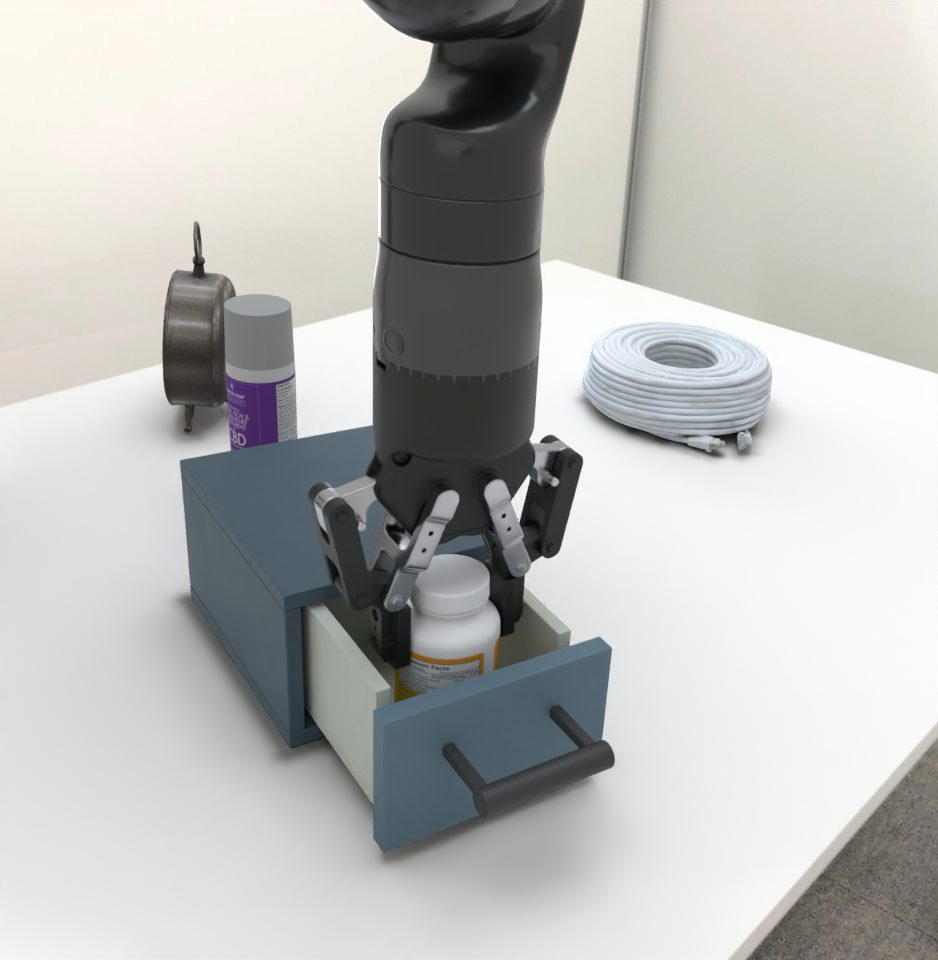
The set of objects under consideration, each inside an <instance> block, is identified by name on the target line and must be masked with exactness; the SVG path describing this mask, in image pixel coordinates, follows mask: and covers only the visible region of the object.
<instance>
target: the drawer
mask: <svg viewBox="0 0 938 960" xmlns="http://www.w3.org/2000/svg"><path fill="white" fill-rule="evenodd" d="M491 559H492V557H488V558H484V559H480V560H478V561H479V562H481V563H482V564H484V565H485V561H487V560H491ZM409 598H410V596H409ZM369 625H370V624H369V606H368V607H367V608H366V609H363V610H360V611H357V610H354V609H352V608H351V607H350V605H349V604H348V603H347V601H346V599H345V598H344V597H343V596H340V597H336V598H332V599H328V600H324V601H321V602H317V603H313V604H309V605H305V606H302V607H301V628H302V657H303V687H304V706H305V708H306V709H307V711H308V712H309V714H310V715H311V716H312V718H313V719H314V721H315V722H316V724H317V725H318V727H319V728H320V729H321V731H322V732H323V734H324V735H325V738H326V739H327V742H329V744H330V745H331V746H332V749H334V751H335V752H336V754H337V755H338V757H339V758H340V760H341V761H342V762H343V764H344V766H345V767H346V769H347V770H348V772H350V774H351V775H352V777H353V779H354V780H355V782H357V785H359V787H360V788H361V790H362V791H363V792H364V794H365V796H366V797H367V798H368V800H369V801H370V802H371V804H372V806H373V807H372V812H373V813H372V814H373V815H372V817H373V819H372V821H373V822H372V825H373V827H372V828H373V829H372V832H373V833H372V838H373V840H374V841H375V843H376V844H377V846H378V847H379V849H380V850H381V852H382V854H386V853H388V852H391V851H394V850H396V849H399V848H401V847H403V846H406V845H409V844H411V843H414V842H415V841H419V840H421V839H423V838H426V837H429V836H431V835H433V834H436V833H438V832H441V831H444V830H446V829H449V828H451V827H453V826H456V825H458V824H461V823H464V822H466V821H468V820H471V819H473V818H476V817H478V816H479V817H480V818H482V819H488V818H490V817H494V816H495V815H498V814H500V813H502V812H506V811H508V810H510V809H513V808H516V807H517V806H520V805H523V804H526V803H528V802H530V801H532V800H535V799H538V798H540V797H542V796H545V795H548V794H550V793H552V792H555V791H558V790H559V789H562V788H565V787H567V786H570V785H573V784H575V783H577V782H580V781H582V780H585V779H588V778H590V777H593V776H595V775H597V774H600V773H602V772H604V771H607V770H610V769H612V768H613V767H614V766H615V763H616V757H615V753H614V752H615V751H614V749H613V747H612V745H610V743H609V742H608V741H607V740H605V739H603V736H604V728H605V717H606V709H607V699H608V690H609V681H610V671H611V663H612V662H611V661H612V653H613V647H612V646H611V645H609V643H607V642H606V641H605V640H604V639H603V638H602V637H601V636H596V637H593V638H591V639H587V640H584V641H581V642H577V643H574V644H572V645H571V635H572V631H571V629H570V628H569V627H568V626H567V625H566V624H565V623H564V622H563V621H562V620H561V619H560V618H559V617H558V616H557V615H555V614H554V612H552V611H551V610H550V609H549V608H548V607H547V606H546V605H545V604H544V603H543V602H542V601H541V600H540V599H538V598H537V596H536V595H534V594H533V593H532V592H531V591H530V590H529V589H528V588H527V587H526V586H524V596H523V613H522V615H521V617H520V620H519V622H516V623H515V627H514V633H513V634H510V635H507V636H503V637H500V647H499V662H498V669H497V670H494V671H491V672H488V673H485V674H482V675H479V676H476V677H473V678H470V679H467V680H464V681H461V682H457V683H454V684H451V685H448V686H445V687H442V688H439V689H436V690H433V691H430V692H427V693H424V694H420V695H417V696H414V697H411V698H408V699H405V700H402V701H399V702H396V703H394V681H395V670H394V669H393V667H392V666H391V665H390V664H389V663H388V662H384V661H383V659H382V658H381V657H380V656H379V655H378V653H377V652H376V651H375V650H374V649H373V647H372V645H371V643H370V641H369V632H370V631H369Z"/></svg>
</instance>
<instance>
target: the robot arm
mask: <svg viewBox="0 0 938 960" xmlns="http://www.w3.org/2000/svg"><path fill="white" fill-rule="evenodd" d="M359 1H360V2H361V3H362V4H363V5H364V6H365V7H366V8H367V9H368V10H369V11H370V12H371V13H372V14H373V15H374V16H375V17H377V19H379V21H381V22H382V23H384V24H385V25H387V27H388V28H391V29H392V30H393V31H395V32H396V33H398V34H400V35H402V36H404V37H406V38H408V39H411V40H412V41H417V42H421V43H427V44H432V47H431V53H430V57H429V62H428V68H427V71H426V74H425V76H424V79H423V80H422V82H421V83H420V84H419V86H418V87H417V88H416V89H415V90H414V91H412V93H410V94H409V95H407V96H406V97H404V98H403V99H402V100H400V101H399V102H398V103H396V105H394V106H393V107H392V108H391V109H390V110H389V112H388V113H387V114H386V115H385V118H384V120H383V123H382V126H381V130H380V137H379V146H378V147H379V148H378V239H377V240H378V241H377V243H378V244H377V252H376V253H377V254H376V260H375V261H376V262H375V267H374V273H373V274H374V275H373V284H372V425H373V430H374V438H375V450H374V454H373V457H372V459H371V461H370V463H369V465H368V467H367V469H366V472H365V476H364V477H362V478H359V479H357V480H354V481H352V482H349V483H347V484H344V485H342V486H339V487H337V488H333V487H332V486H331V485H330V484H328V483H326V482H319V483H317V484H315V485H313V486H312V487H311V489H310V490H309V492H308V500H309V504H310V508H311V512H312V516H313V519H314V523H315V527H316V531H317V535H318V539H319V542H320V546H321V550H322V554H323V558H324V562H325V566H326V569H327V573H328V577H329V581H330V583H331V584H332V585H333V586H334V587H335V588H336V589H337V590H338V591H339V592H340V593H341V594H342V595H343V597H344V598H345V599H346V601H347V603H348V604H349V605H350V607H351V608H352V609H354V610H357V611H360V610H363V609H366V608H367V607H368V606H369V624H370V625H369V631H370V632H369V641H370V643H371V645H372V647H373V649H374V650H375V651H376V652H377V653H378V655H379V656H380V657H381V658H382V659H383V661H384V662H388V663H389V664H390V665H391V666H392V667H393V669H394V670H397V669H401V668H404V667H407V666H409V665H410V651H411V607H410V606H409V605H408V604H407V601H408V599H409V596H410V594H411V591H412V589H413V587H414V584H415V582H416V579H417V577H418V575H419V573H420V572H424V571H426V570H427V569H428V567H429V565H430V562H431V560H432V557H433V555H434V553H435V550H436V548H437V545H440V544H444V543H447V542H449V541H451V540H453V539H455V538H457V537H459V536H476V535H480V534H481V536H482V538H483V541H484V543H485V545H486V548H487V550H488V552H489V553H490V554H491V555H492V559H491V560H487V561H485V567H486V568H487V569H488V571H489V575H490V594H489V600H490V601H491V602H492V603H493V604H494V606H495V607H496V609H497V610H498V613H499V616H500V637H503V636H507V635H510V634H513V633H514V627H515V623H516V622H519V620H520V617H521V615H522V613H523V596H524V587H525V582H526V581H525V580H526V574H528V572H529V571H530V569H531V566H532V564H533V563H534V562H535V561H537V560H539V559H540V558H542V557H543V558H544V559H552V558H554V557H555V556H556V555H558V554H559V553H560V550H561V548H562V544H563V541H564V537H565V533H566V531H567V526H568V522H569V518H570V514H571V510H572V508H573V504H574V503H573V502H574V499H575V495H576V491H577V488H578V484H579V481H580V477H581V473H582V469H583V465H584V458H583V456H582V455H581V454H580V453H578V452H577V451H576V450H575V449H573V448H572V447H570V446H569V445H567V444H566V443H565V442H564V441H562V440H561V439H559V438H558V436H555V435H554V434H547V435H545V436H544V437H542V439H540V441H539V442H531V437H532V435H533V433H534V429H535V423H536V420H535V419H536V407H537V406H536V405H537V392H538V376H539V362H540V344H541V331H542V315H543V294H544V293H543V292H544V291H543V278H542V265H541V264H542V263H541V244H542V229H543V214H544V198H545V196H544V195H545V181H546V177H545V175H546V172H545V171H546V165H545V164H546V163H545V161H546V159H545V158H546V151H547V146H548V142H549V140H550V139H549V138H550V135H551V133H552V129H553V127H554V123H555V120H556V117H557V114H558V111H559V108H560V106H561V103H562V99H563V96H564V92H565V88H566V83H567V80H568V76H569V72H570V68H571V65H572V61H573V57H574V53H575V49H576V45H577V42H578V37H579V34H580V29H581V25H582V20H583V18H584V17H583V15H584V12H585V6H586V0H359ZM528 477H529V482H528V486H527V490H526V494H525V498H524V502H523V506H522V509H521V514H520V517H519V518H518V516H517V514H516V511H515V509H514V506H513V503H512V500H513V499H514V498H515V496H516V495H517V493H518V491H520V488H521V487H522V485H523V484H524V482H525V480H527V478H528ZM376 501H379V502H380V503H381V504H382V506H383V507H384V508H385V511H384V513H383V516H382V518H381V521H380V523H379V526H378V528H377V531H376V534H375V541H376V549H375V551H374V554H373V556H372V558H371V561H370V563H369V566H368V568H367V565H366V561H365V556H364V552H363V548H362V544H361V539H360V535H359V532H363V531H365V530H366V528H367V524H366V522H367V513H368V509H369V507H370V506H371V505H372V504H373V503H374V502H376ZM406 531H407V532H408V533H409V534H410V535H411V536H412V537H411V540H410V539H409V538H408V537H407V534H406Z"/></svg>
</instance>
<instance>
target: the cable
mask: <svg viewBox="0 0 938 960" xmlns="http://www.w3.org/2000/svg"><path fill="white" fill-rule="evenodd" d="M581 380H582V383H581V384H582V385H581V387H582V390H583V392H584V395H585V396H586V397H587V398H588V399H589V402H590V403H591V404H592V406H594V407H595V408H596V409H597V410H598V411H599V412H601V414H603V415H604V416H606V417H607V418H610V419H611V420H613V421H615V422H617V423H619V424H622V425H625V426H627V427H630V428H633V429H638V430H641V431H643V432H644V431H645V432H646V433H649V434H651V435H654V436H657V437H659V438H663V439H665V440H669V441H673V442H678V443H683V444H687V445H688V446H689V447H693V448H697V449H700V450H705V452H707V453H709V454H710V453H712V451H713V450H714V449H715V450H716V449H720V448H725V446H726V441H725V440H721V438H718V437H714V436H722V435H729V434H735V433H738V434H737V435H736V438H737V440H736V446H737V447H736V448H737V449H738V451H739V452H741V451H743V450H746V449H747V448H749V447H751V444H752V443H753V438H752V433H751V432H750V431H749V429H750V428H752V427H754V426H755V425H756V424H758V423H759V422H760V421H761V420H762V417H763V415H764V413H765V412H766V410H767V407H768V404H770V401H771V392H772V385H773V384H772V383H773V382H772V381H773V367H772V365H771V363H770V361H769V358H768V356H767V354H766V353H765V352H764V351H763V350H762V349H761V348H759V347H758V346H756V345H755V344H753V343H751V342H749V341H747V340H745V339H743V338H740V337H738V336H736V335H733V334H731V333H728V332H726V331H723V330H720V329H716V328H712V327H707V326H703V325H698V324H691V323H684V322H683V323H681V322H674V321H673V322H672V321H644V322H634V323H628V324H623V325H618V326H616V327H612V328H610V329H608V330H607V331H605V332H603V333H601V334H600V335H599V336H598V337H597V338H596V339H595V341H594V342H593V345H592V348H591V351H590V355H589V358H588V363H587V366H586V369H585V370H584V372H583V375H582V379H581Z"/></svg>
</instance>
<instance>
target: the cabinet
mask: <svg viewBox="0 0 938 960" xmlns="http://www.w3.org/2000/svg"><path fill="white" fill-rule="evenodd" d="M374 450H375V438H374V430H373V424H370V425H366V426H359V427H354V428H349V429H344V430H338V431H333V432H328V433H321V434H315V435H311V436H306V437H300V438H298V439H293V440H288V441H282V442H277V443H271V444H266V445H260V446H255V447H249V448H244V449H238V450H233V451H231V450H228V451H222V452H218V453H217V452H216V453H211V454H206V455H200V456H195V457H188V458H183V459H179V468H180V478H181V491H182V501H183V502H182V503H183V514H184V515H183V516H184V526H185V527H184V528H185V537H186V538H185V539H186V550H187V559H188V560H187V562H188V563H187V564H188V574H189V584H190V585H189V588H190V597H191V598H192V600H193V601H194V603H195V605H196V606H197V608H198V609H199V611H200V612H201V613H202V616H203V617H204V619H205V620H206V622H207V623H208V624H209V626H210V628H211V629H212V631H213V632H214V633H215V635H216V637H217V638H218V639H219V641H220V643H221V644H222V646H223V648H224V649H225V650H226V652H227V654H228V655H229V657H230V658H231V660H232V661H233V663H234V664H235V666H236V667H237V668H238V670H239V672H240V673H241V675H242V677H243V678H244V679H245V681H246V682H247V684H248V685H249V687H250V688H251V690H252V692H253V693H254V695H255V696H256V698H257V699H258V701H259V702H260V704H261V705H262V707H263V709H264V711H266V713H267V715H268V716H269V718H270V719H271V721H272V722H273V724H274V725H275V726H276V727H275V728H277V730H278V731H279V733H280V734H281V736H282V737H283V739H284V740H285V743H286V744H287V745H288V747H289V748H290V749H291V748H295V747H297V746H300V745H303V744H306V743H309V742H312V741H315V740H318V739H322V738H324V737H325V735H324V734H323V732H322V731H321V729H320V728H319V727H318V725H317V724H316V722H315V721H314V719H313V718H312V716H311V715H310V714H309V712H308V711H307V709H306V708H305V706H304V687H303V657H302V628H301V607H302V606H305V605H309V604H313V603H317V602H321V601H324V600H328V599H332V598H336V597H340V596H343V595H342V594H341V593H340V592H339V591H338V590H337V589H336V588H335V587H334V586H333V585H332V584H331V583H330V581H329V577H328V573H327V569H326V566H325V562H324V558H323V554H322V550H321V546H320V542H319V539H318V535H317V531H316V527H315V523H314V519H313V516H312V512H311V508H310V504H309V500H308V492H309V490H310V489H311V487H312V486H313V485H315V484H317V483H319V482H326V483H328V484H330V485H331V486H332V487H333V488H337V487H339V486H342V485H344V484H347V483H349V482H352V481H354V480H357V479H359V478H362V477H364V476H365V472H366V469H367V467H368V465H369V463H370V461H371V459H372V457H373V454H374ZM384 511H385V508H384V507H383V506H382V504H381V503H380V502H379V501H376V502H374V503H373V504H372V505H371V506H370V507H369V509H368V513H367V522H366V524H367V528H366V530H365V531H363V532H359V535H360V539H361V544H362V548H363V552H364V556H365V561H366V565H367V568H368V566H369V563H370V561H371V558H372V556H373V554H374V551H375V549H376V541H375V534H376V531H377V528H378V526H379V523H380V521H381V518H382V516H383V513H384ZM406 534H407V537H408V538H409V539H410V540H411V537H412V536H411V535H410V534H409V533H408V532H407V531H406ZM443 554H456V555H463V556H467V557H471V558H474V559H476V560H480V559H484V558H488V557H492V555H491V554H490V553H489V552H488V550H487V548H486V545H485V543H484V541H483V538H482V536H481V534H480V535H476V536H459V537H457V538H455V539H453V540H451V541H449V542H447V543H444V544H440V545H437V548H436V550H435V553H434V555H433V556H437V555H443ZM325 738H326V737H325Z"/></svg>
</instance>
